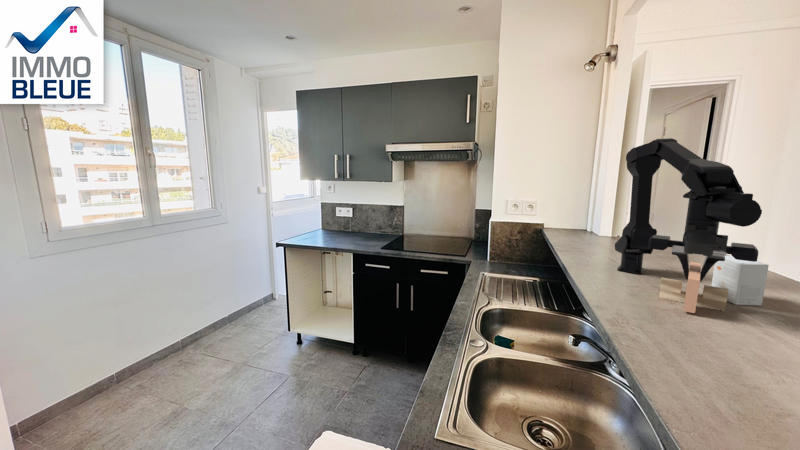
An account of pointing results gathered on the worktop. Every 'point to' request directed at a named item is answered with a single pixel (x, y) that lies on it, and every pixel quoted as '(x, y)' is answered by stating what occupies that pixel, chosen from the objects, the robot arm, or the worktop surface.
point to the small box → (741, 280)
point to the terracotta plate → (692, 287)
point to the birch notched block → (709, 299)
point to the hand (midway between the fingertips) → (693, 280)
